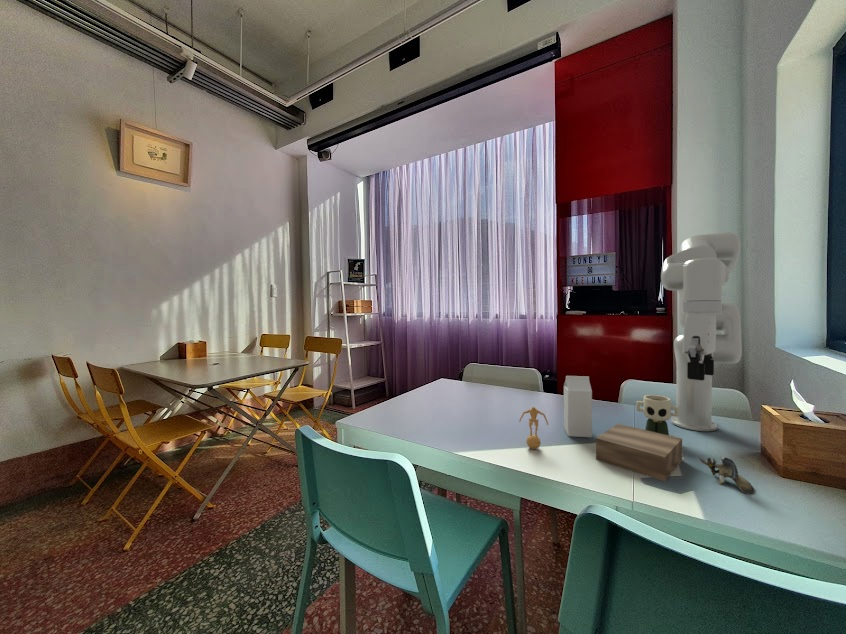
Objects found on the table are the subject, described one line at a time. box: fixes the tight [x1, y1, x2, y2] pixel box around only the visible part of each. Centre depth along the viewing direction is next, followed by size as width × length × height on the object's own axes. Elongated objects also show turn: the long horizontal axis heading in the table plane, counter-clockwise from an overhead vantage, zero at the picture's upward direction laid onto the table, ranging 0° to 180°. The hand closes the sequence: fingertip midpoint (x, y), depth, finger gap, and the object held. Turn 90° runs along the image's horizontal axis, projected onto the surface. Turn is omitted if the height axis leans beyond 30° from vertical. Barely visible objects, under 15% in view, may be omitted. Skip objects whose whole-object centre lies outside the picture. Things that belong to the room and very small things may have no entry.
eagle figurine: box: [698, 455, 756, 496], centre depth 81 cm, size 8×7×9 cm
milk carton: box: [563, 375, 593, 438], centre depth 113 cm, size 7×7×19 cm
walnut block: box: [595, 423, 683, 482], centre depth 93 cm, size 16×16×6 cm
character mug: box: [636, 394, 679, 436], centre depth 107 cm, size 11×7×13 cm, turn 53°
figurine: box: [519, 406, 549, 450], centre depth 103 cm, size 8×6×12 cm
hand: (700, 376), depth 86 cm, fingers open, 9 cm apart
